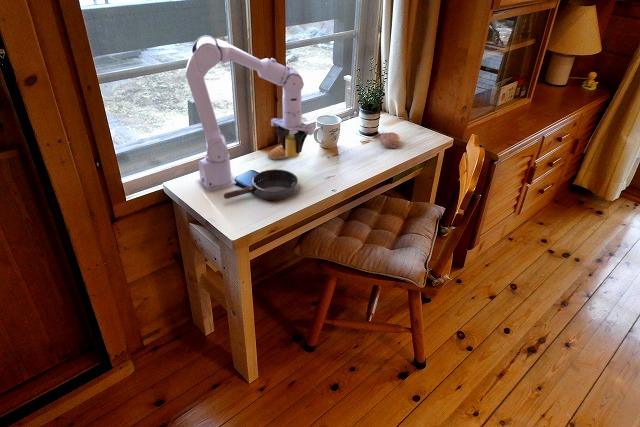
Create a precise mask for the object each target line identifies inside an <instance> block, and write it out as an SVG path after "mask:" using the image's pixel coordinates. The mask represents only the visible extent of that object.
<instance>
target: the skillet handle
mask: <svg viewBox="0 0 640 427" xmlns="http://www.w3.org/2000/svg"><path fill="white" fill-rule="evenodd" d="M254 191H256V188H255V186H252V185H251V186H246V187H243V188H239V189H235V190H232V191H231V190H230V191H228V192H224V194H223V198H224V199H225V200H228V199H232V198H236V197H240V196H243V195H247V194H250V193H253V192H254Z"/></svg>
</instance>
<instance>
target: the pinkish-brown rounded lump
mask: <svg viewBox="0 0 640 427" xmlns="http://www.w3.org/2000/svg"><path fill="white" fill-rule="evenodd" d="M379 140H380V143H381V144H382V145H383V147H385V148H389V149H397V148H399V147H400V146H401V144H402V138H401V137H400V135H399V134H397V133H395V132H384V133H382V134H380V135H379Z"/></svg>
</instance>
